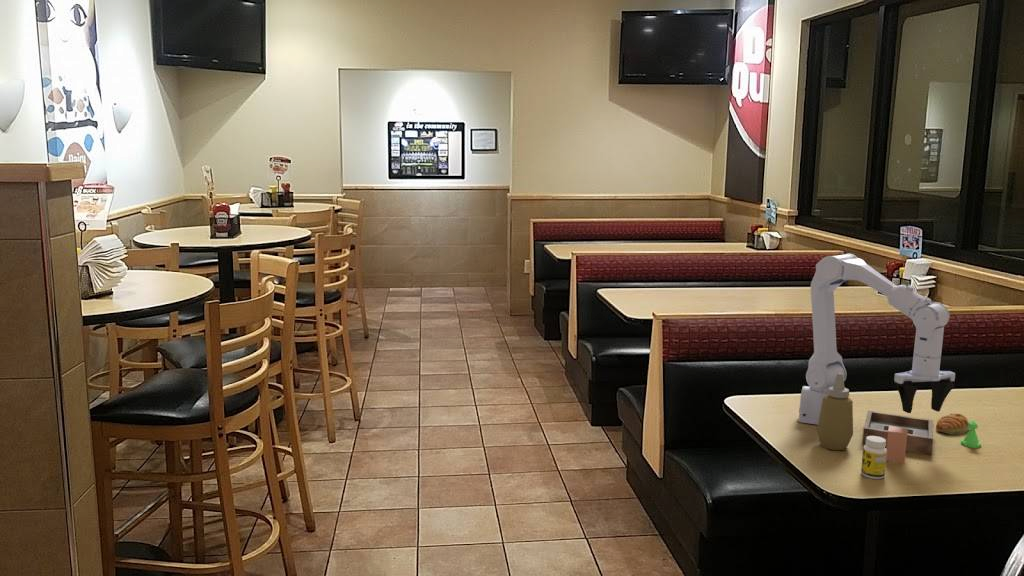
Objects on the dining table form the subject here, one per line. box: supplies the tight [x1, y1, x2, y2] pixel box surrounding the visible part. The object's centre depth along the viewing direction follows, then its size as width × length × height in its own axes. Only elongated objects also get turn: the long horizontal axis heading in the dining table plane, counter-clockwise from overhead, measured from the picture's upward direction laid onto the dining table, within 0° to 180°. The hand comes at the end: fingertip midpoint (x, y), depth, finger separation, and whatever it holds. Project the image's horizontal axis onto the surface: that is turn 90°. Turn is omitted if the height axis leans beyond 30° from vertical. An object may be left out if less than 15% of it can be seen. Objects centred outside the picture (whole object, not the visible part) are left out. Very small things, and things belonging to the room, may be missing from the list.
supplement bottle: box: [860, 436, 887, 480], centre depth 178 cm, size 5×5×8 cm
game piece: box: [960, 420, 982, 449], centre depth 198 cm, size 4×4×6 cm
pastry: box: [935, 413, 970, 435], centre depth 208 cm, size 9×7×4 cm
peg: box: [886, 426, 908, 464], centre depth 188 cm, size 4×4×7 cm
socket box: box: [861, 410, 934, 456], centre depth 201 cm, size 15×15×4 cm
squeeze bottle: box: [816, 373, 854, 451], centre depth 194 cm, size 8×8×18 cm
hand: (921, 411), depth 192 cm, fingers open, 7 cm apart
